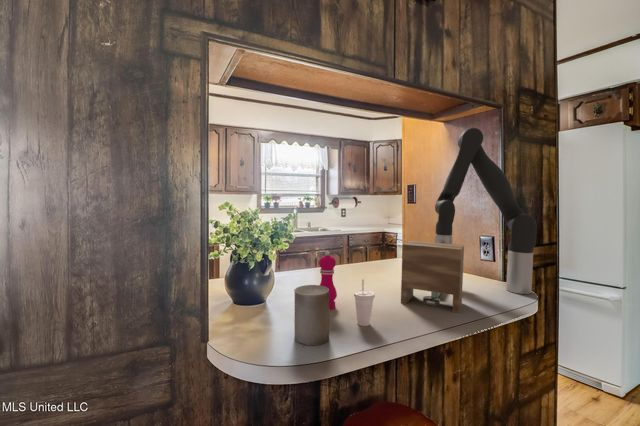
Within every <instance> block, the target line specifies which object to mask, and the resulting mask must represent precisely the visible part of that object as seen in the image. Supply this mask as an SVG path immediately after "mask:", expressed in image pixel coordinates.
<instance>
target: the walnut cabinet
mask: <svg viewBox="0 0 640 426" xmlns="http://www.w3.org/2000/svg"><path fill="white" fill-rule="evenodd" d="M401 251H402V253H401V255H402V256H401V282H400V283H401V284H400V303H401V304H404V305H407V304H408V302H409V301H410V300H411V299H412V298H413V296H414V290H419V291H423V292H425V291H426V292H438V293H440V294H445V295H452V313H460V309H461V308H462V307H461V306H462V304H463V285H464V284H463V283H464V282H463V281H464V280H463V277H464V260H465V259H464V258H465V257H464V256H465V255H464V254H465V245H464V244H455V243H452V244H444V243H434V242H431V241H430V242H429V241H418V240H409V241H407V242H404V243H403V244H402V250H401Z"/></svg>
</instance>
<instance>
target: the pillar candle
mask: <svg viewBox="0 0 640 426" xmlns="http://www.w3.org/2000/svg"><path fill="white" fill-rule="evenodd" d="M293 291H294V340H295V342H297V343H300V344H303V345H306V346H319V345H322V344H324V343H327V342H328V341H329V339H330V309H329V289H328V288H327V287H324V286H320V284H319V285H318V284H305V285H301V286H298V287H296V288H294V289H293Z"/></svg>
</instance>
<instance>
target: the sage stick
mask: <svg viewBox="0 0 640 426" xmlns="http://www.w3.org/2000/svg"><path fill="white" fill-rule="evenodd" d="M430 292H431V291H430ZM440 295H441V293H438V292H431V294H430V296H434V297H437V298H439V297H440Z"/></svg>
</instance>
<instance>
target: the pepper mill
mask: <svg viewBox="0 0 640 426" xmlns="http://www.w3.org/2000/svg"><path fill="white" fill-rule="evenodd" d="M336 262H337V261H336V259H335V257H333V256H332V255H331V252H330V251H328V250H327V251H325V252H324V255H323V256H320V258H319V260H318V266H319V267H320V269H319V270H320V271H319V273H320V275H321V280H320V283H319V285H320V286H324V287H327V288H328V289H329V310H334V309H335V308H336V301H335V300H336V299H337V296H338V293H337V289H336V287H335V284H334V281H333V276H334V274H335V269H334V268H335V267H336V265H337V264H336Z"/></svg>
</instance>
